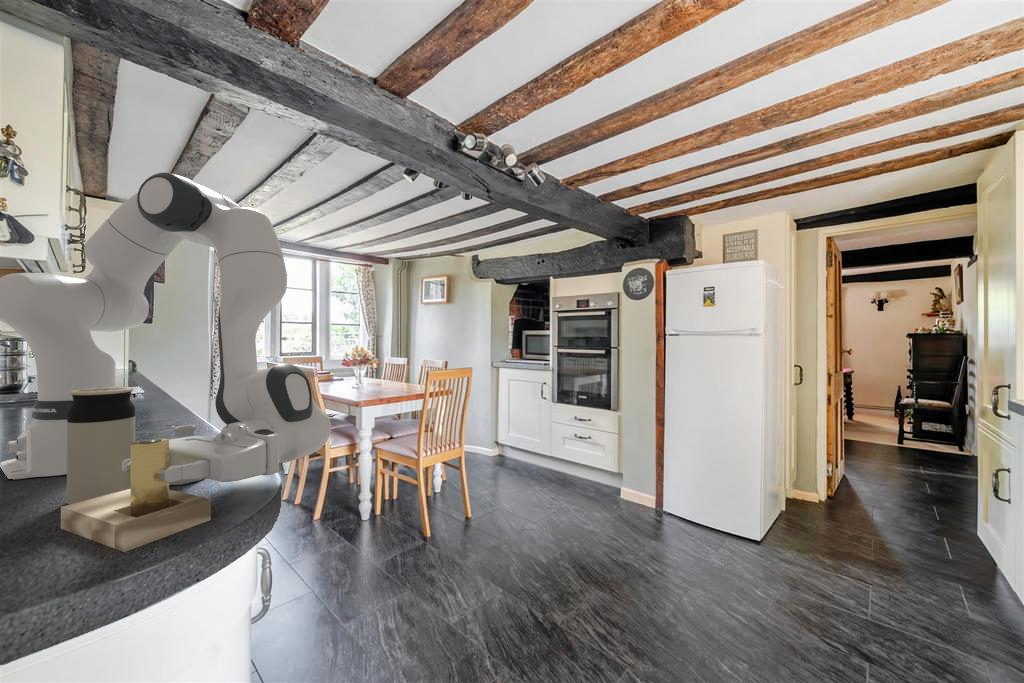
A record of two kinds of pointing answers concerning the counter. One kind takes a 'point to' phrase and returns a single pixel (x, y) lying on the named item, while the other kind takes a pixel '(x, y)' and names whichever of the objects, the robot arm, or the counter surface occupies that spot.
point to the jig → (132, 519)
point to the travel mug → (99, 442)
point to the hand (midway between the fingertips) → (143, 471)
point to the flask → (181, 432)
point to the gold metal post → (149, 476)
